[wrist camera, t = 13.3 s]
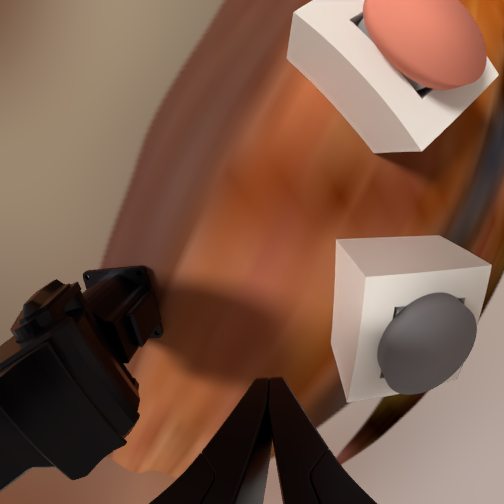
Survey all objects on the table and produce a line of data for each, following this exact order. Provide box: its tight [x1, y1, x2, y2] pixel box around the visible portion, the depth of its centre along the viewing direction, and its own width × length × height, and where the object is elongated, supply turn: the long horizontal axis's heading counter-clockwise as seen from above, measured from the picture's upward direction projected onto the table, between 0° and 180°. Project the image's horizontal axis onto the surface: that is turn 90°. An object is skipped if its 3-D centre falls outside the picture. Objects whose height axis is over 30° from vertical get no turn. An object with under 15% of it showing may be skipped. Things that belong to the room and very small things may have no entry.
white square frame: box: [287, 0, 499, 153], centre depth 12 cm, size 9×9×7 cm
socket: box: [331, 235, 492, 403], centre depth 17 cm, size 9×9×7 cm
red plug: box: [357, 0, 487, 91], centre depth 11 cm, size 6×6×8 cm
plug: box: [377, 292, 477, 395], centre depth 17 cm, size 6×6×8 cm
